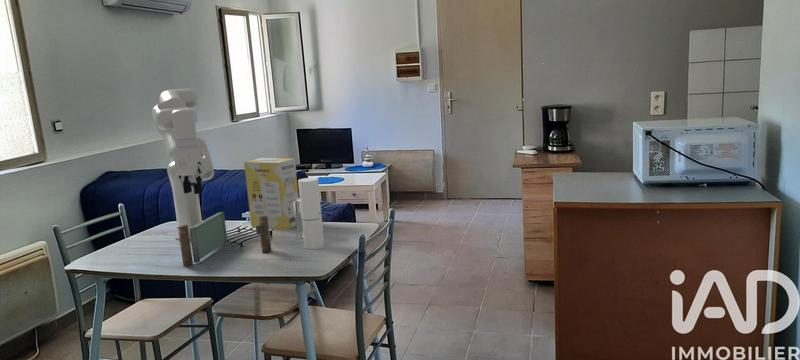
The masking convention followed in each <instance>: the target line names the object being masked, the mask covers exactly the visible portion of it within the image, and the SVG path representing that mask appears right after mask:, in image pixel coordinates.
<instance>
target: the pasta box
mask: <svg viewBox="0 0 800 360" xmlns="http://www.w3.org/2000/svg"><path fill="white" fill-rule="evenodd" d="M243 164H244V172H245V180H246V188H247V189H246V190H247V198H248V209H249V215H250V225H251V228H256V226H259V219H258V217H261V216H267V217H268V226H269V230H270V229H271V230H272V229H273V230H283V231H287V230H290V229H291V228H293V227H295V226H296V227H297V224H296V220H295V217H294V211H293V200H294V199H296V198H300V196H299V186H298V180H297V168H296V159H295V158H284V157H283V158H282V157H281V158H279V157H278V158H277V157H260V158H259V157H258V158H256V159H251V160H247V161H244V163H243Z"/></svg>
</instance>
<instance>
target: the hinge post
mask: <svg viewBox="0 0 800 360" xmlns="http://www.w3.org/2000/svg"><path fill="white" fill-rule="evenodd" d="M177 226H178V225H177ZM177 231H178V232H177V233H179V239H180V240H179V245H180V252H181V253H180V254H181V258H182V266H183V267H190V266H191V267H192V266H193V265H194V259H193V252H192V245H191V239H190V238H189V231H188V225H180V226H178V229H177Z"/></svg>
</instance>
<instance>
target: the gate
mask: <svg viewBox="0 0 800 360" xmlns="http://www.w3.org/2000/svg"><path fill="white" fill-rule="evenodd" d="M226 226H227V225H226V217H225V212H224V211H218V212H217V213H215V214H213V215H211V216H209V217H207V218H206V219H204V220H202V222H200V223H198V224H196V225H195V226H193V227H190V228H189V229H190V237H191V239H190V245H191V252H192V259H193V264H194V263H195V264H196V263H197V264H198V263H200V262H201V260H202V259H203V258H205V257H206V256H207V255H209V254H211V253H212V252H214V251H215V250H216V249H218V248H219V247H221V246H222V245H224V244H225V243H228V234H227V227H226Z"/></svg>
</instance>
